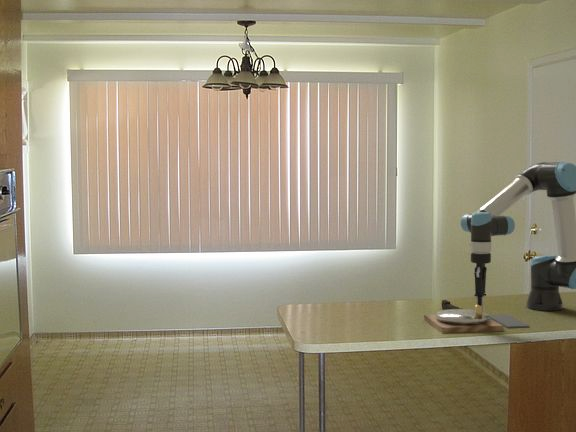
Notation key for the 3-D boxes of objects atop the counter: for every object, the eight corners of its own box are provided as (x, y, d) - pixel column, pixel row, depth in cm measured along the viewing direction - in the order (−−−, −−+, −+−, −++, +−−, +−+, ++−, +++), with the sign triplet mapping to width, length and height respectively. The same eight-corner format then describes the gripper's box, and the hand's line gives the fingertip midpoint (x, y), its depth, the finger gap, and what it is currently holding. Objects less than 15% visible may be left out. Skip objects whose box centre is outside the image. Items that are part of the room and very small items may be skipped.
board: (480, 317, 313) (480, 312, 313) (503, 330, 289) (503, 324, 289) (424, 319, 311) (424, 314, 310) (441, 332, 287) (441, 326, 287)
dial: (499, 320, 296) (500, 303, 295) (461, 326, 286) (461, 308, 285) (463, 312, 313) (463, 295, 313) (426, 317, 303) (426, 300, 303)
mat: (507, 315, 317) (507, 314, 317) (529, 327, 295) (529, 325, 295) (486, 316, 316) (486, 314, 316) (507, 328, 294) (507, 326, 294)
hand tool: (465, 317, 315) (465, 306, 314) (456, 318, 314) (456, 307, 314) (448, 309, 333) (448, 298, 333) (439, 309, 333) (439, 299, 332)
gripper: (474, 249, 299) (473, 308, 301) (467, 254, 287) (467, 315, 289) (493, 250, 296) (492, 310, 298) (487, 254, 284) (487, 316, 286)
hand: (480, 312), depth 294 cm, fingers closed
